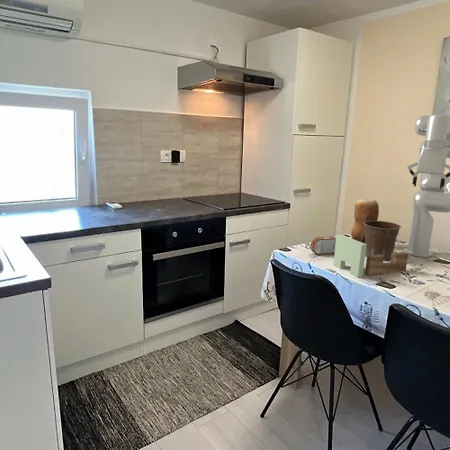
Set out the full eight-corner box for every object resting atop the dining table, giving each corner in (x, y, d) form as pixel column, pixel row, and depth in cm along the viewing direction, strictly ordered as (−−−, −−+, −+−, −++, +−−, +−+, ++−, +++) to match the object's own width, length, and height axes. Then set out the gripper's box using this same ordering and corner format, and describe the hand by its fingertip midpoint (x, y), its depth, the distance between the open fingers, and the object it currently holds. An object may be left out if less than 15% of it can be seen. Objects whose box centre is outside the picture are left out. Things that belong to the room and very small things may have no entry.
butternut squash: (361, 240, 206) (367, 196, 201) (382, 247, 195) (388, 200, 189) (344, 243, 199) (349, 197, 194) (364, 250, 188) (370, 202, 182)
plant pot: (371, 262, 170) (375, 228, 166) (353, 251, 186) (357, 220, 182) (403, 261, 173) (408, 228, 169) (383, 251, 188) (387, 220, 184)
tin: (335, 251, 185) (337, 235, 183) (339, 253, 182) (341, 237, 180) (309, 253, 180) (310, 237, 178) (312, 255, 178) (314, 238, 176)
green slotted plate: (333, 264, 165) (336, 234, 162) (337, 264, 166) (341, 234, 163) (357, 277, 151) (361, 244, 148) (362, 277, 152) (366, 244, 148)
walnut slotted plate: (364, 273, 156) (367, 255, 154) (401, 269, 163) (403, 251, 161) (368, 275, 153) (371, 257, 151) (405, 271, 160) (408, 253, 158)
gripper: (458, 146, 151) (450, 188, 155) (411, 145, 159) (405, 184, 163) (459, 146, 145) (451, 190, 149) (410, 144, 153) (404, 186, 156)
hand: (427, 187), depth 156 cm, fingers open, 9 cm apart
